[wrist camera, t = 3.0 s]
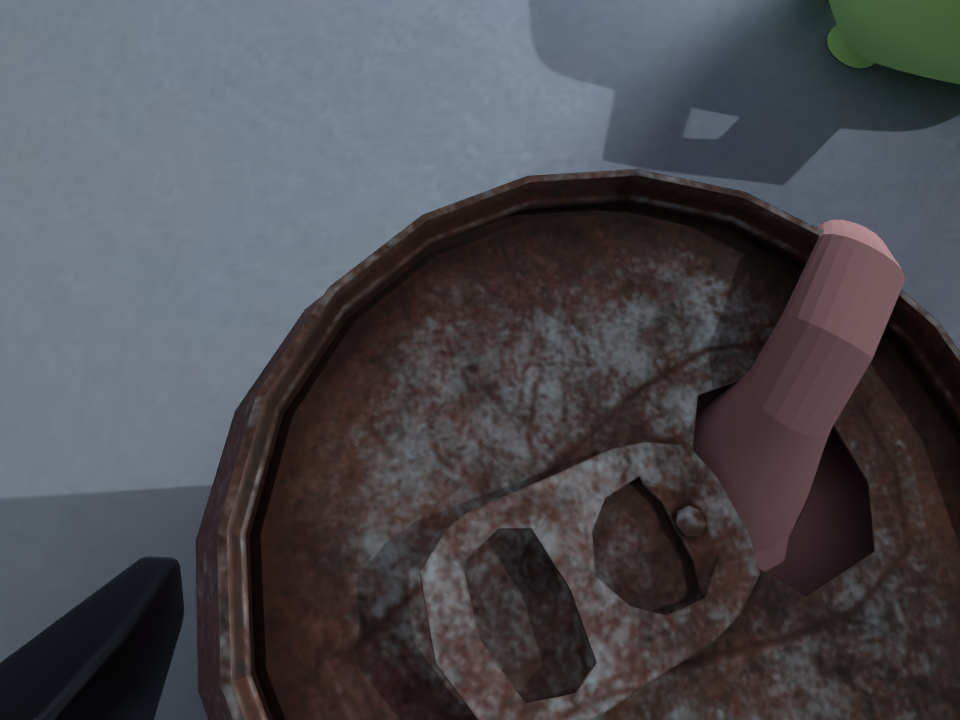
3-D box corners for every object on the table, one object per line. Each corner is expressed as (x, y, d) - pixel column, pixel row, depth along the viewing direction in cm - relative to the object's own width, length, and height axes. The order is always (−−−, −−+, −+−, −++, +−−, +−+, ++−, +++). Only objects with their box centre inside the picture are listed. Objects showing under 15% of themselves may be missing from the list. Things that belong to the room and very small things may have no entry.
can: (628, 532, 18) (1211, 339, 5) (516, 779, 16) (1031, 1526, 3) (426, 418, 19) (492, -26, 6) (291, 644, 17) (-119, 782, 3)
